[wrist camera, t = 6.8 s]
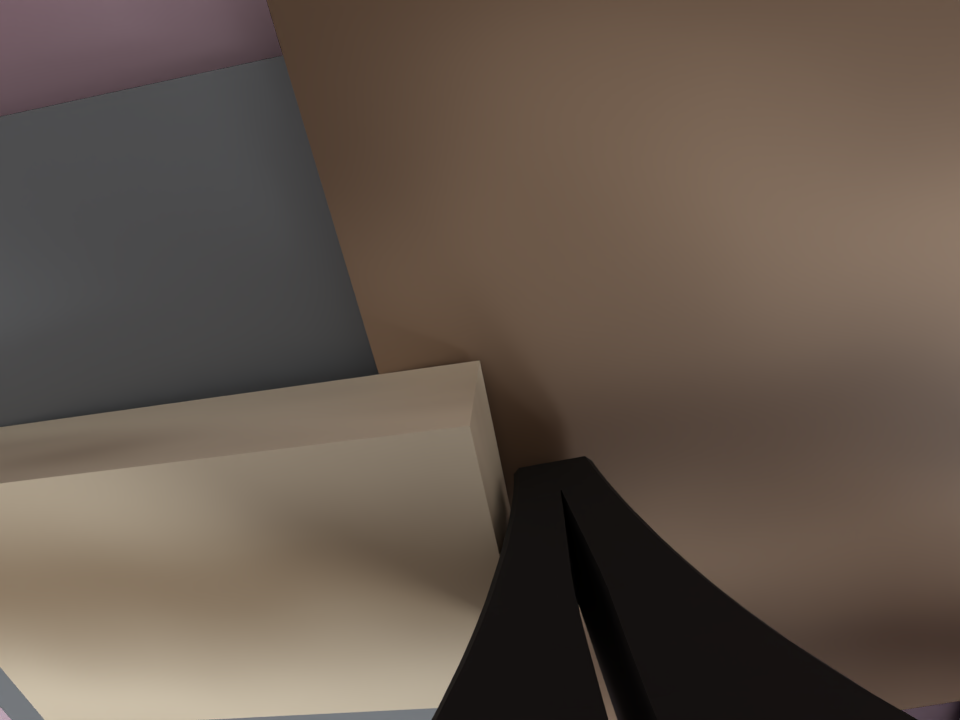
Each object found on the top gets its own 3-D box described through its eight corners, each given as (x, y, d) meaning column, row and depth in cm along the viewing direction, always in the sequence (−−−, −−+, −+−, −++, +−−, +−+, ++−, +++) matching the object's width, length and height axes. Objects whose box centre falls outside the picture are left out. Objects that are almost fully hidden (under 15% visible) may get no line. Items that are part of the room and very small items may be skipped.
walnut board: (954, 641, 15) (1003, 693, 14) (495, 716, 16) (498, 773, 15) (1180, -219, 8) (1332, -286, 6) (286, -20, 8) (253, -43, 7)
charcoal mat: (488, 693, 16) (489, 715, 15) (81, 760, 16) (68, 783, 16) (307, 55, 9) (297, 51, 8) (-388, 205, 9) (-440, 211, 9)
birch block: (531, 610, 12) (533, 703, 10) (114, 640, 13) (50, 727, 11) (480, 360, 9) (469, 425, 8) (-30, 431, 11) (-141, 500, 9)
